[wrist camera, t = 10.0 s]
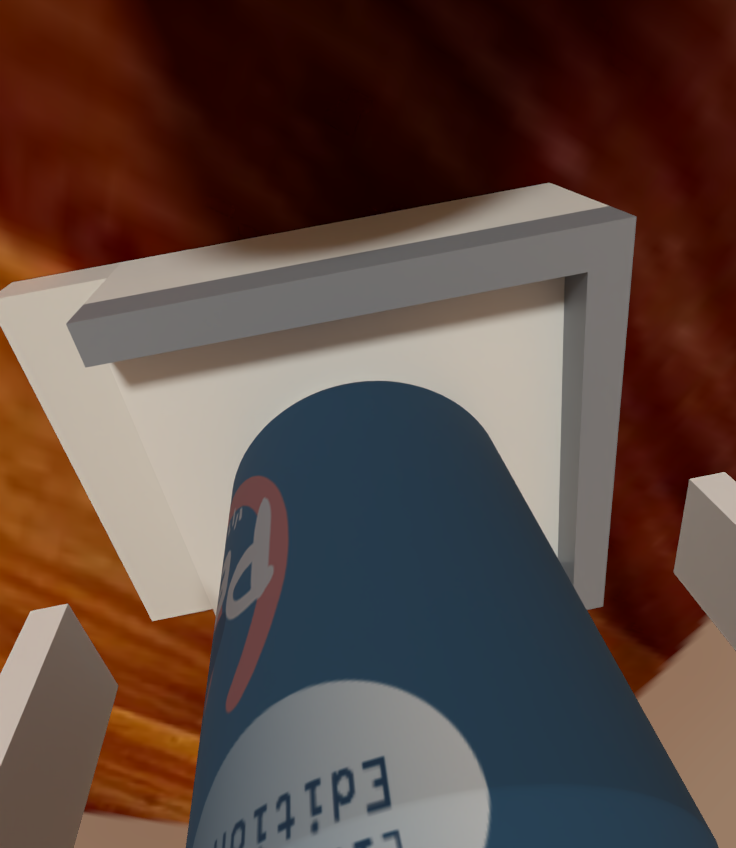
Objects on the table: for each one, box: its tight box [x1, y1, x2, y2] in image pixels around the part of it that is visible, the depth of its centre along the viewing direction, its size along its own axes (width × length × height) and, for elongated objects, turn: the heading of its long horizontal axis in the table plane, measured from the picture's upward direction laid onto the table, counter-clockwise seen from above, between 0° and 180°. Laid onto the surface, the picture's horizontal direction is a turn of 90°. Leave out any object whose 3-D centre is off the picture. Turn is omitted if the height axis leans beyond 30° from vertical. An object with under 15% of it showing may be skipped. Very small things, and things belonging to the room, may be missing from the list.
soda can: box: [186, 381, 718, 848], centre depth 11 cm, size 7×7×12 cm
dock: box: [0, 183, 636, 621], centre depth 17 cm, size 15×12×5 cm
